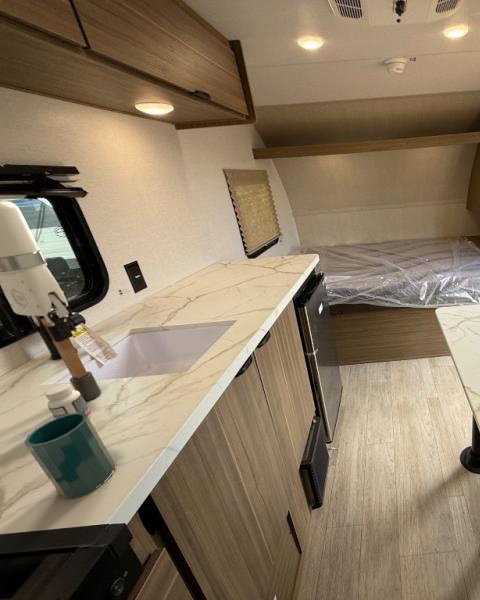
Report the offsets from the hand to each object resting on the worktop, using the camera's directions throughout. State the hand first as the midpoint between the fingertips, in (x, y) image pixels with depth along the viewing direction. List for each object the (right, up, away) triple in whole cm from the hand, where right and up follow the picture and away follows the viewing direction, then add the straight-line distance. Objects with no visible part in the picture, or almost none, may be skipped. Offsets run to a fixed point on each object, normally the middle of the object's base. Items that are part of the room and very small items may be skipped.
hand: (60, 338), depth 74 cm
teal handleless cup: (+23, -23, -17) cm, 37 cm away
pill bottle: (+6, -19, -1) cm, 20 cm away
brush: (+1, -15, +6) cm, 17 cm away
